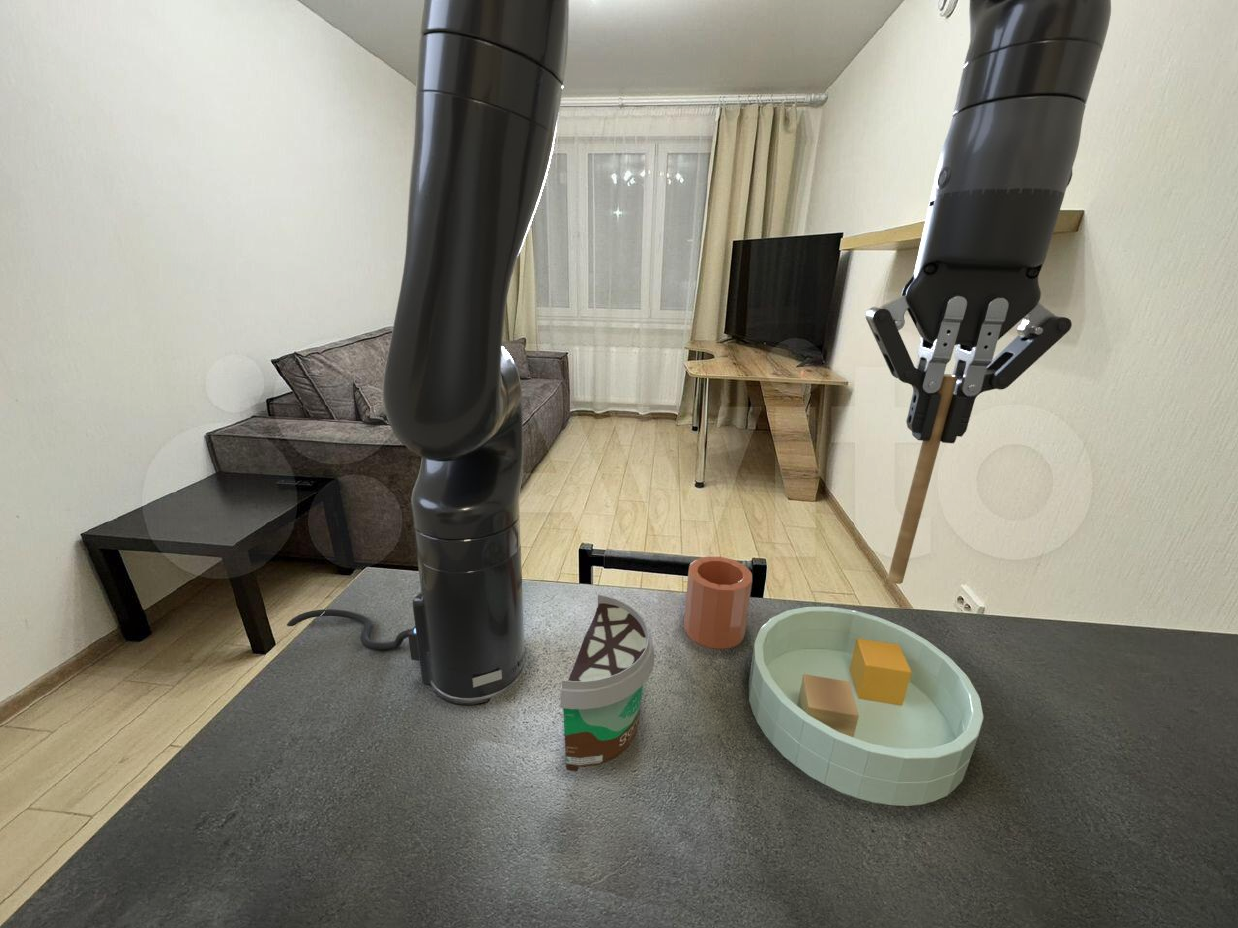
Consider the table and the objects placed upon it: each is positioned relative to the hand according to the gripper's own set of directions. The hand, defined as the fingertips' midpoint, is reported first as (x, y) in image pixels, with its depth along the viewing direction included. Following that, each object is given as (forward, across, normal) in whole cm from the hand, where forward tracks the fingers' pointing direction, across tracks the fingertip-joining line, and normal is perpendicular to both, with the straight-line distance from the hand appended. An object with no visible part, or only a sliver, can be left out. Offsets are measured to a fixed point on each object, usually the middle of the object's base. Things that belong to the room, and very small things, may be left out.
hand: (931, 438), depth 41 cm
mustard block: (+26, -1, -2) cm, 26 cm away
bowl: (+27, +2, +2) cm, 27 cm away
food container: (+27, +22, +9) cm, 36 cm away
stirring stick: (+13, 0, 0) cm, 13 cm away
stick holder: (+27, +15, -8) cm, 32 cm away
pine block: (+26, +4, +4) cm, 27 cm away
